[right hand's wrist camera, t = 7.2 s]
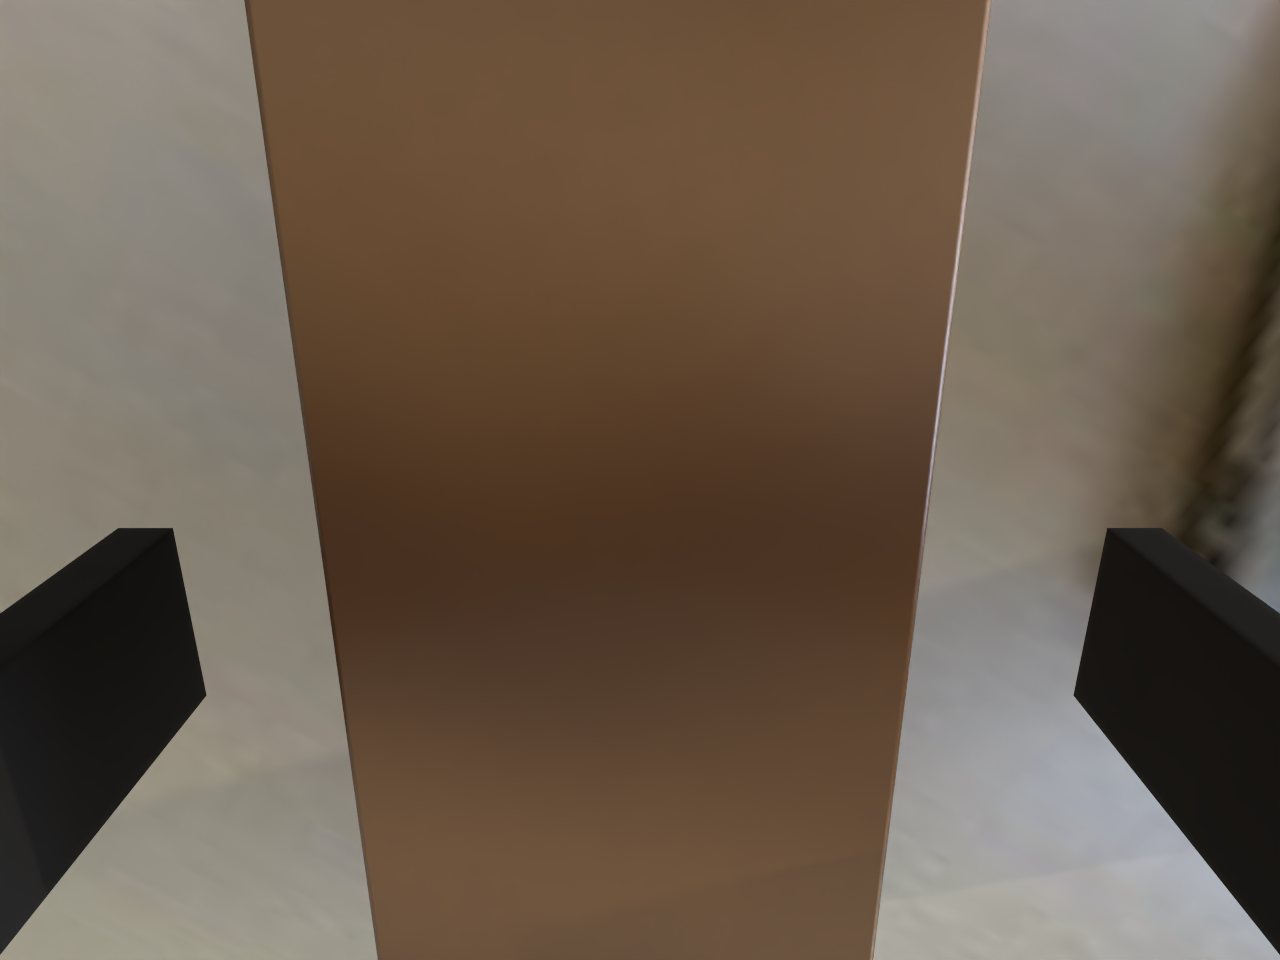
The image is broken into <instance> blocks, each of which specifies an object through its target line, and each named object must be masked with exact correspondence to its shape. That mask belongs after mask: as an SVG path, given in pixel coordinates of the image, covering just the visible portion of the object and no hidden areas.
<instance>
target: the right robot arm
mask: <svg viewBox="0 0 1280 960" xmlns="http://www.w3.org/2000/svg"><path fill="white" fill-rule="evenodd" d="M205 697H206V691H205V686H204V681H203V676H202V671H201V666H200V661H199V656H198V651H197V646H196V641H195V636H194V631H193V626H192V621H191V616H190V611H189V606H188V602H187V597H186V592H185V587H184V582H183V577H182V572H181V567H180V562H179V557H178V552H177V547H176V542H175V537H174V532H173V528H118V529H116V530H115V531H114V532H112V533H111V534H109V535H108V536H107V537H105V538H104V539H103V540H101V541H100V542H98V543H97V544H96V545H94V546H93V547H92V548H90V549H89V550H87V551H86V552H85V553H83V554H82V555H80V556H79V557H78V558H76V559H75V560H74V561H72V562H71V563H69V564H68V565H67V566H65V567H64V568H63V569H61V570H60V571H58V572H57V573H56V574H54V575H53V576H51V577H50V578H49V579H47V580H46V581H45V582H43V583H42V584H40V585H39V586H38V587H36V588H35V589H34V590H32V591H31V592H29V593H28V594H27V595H25V596H24V597H22V598H21V599H20V600H18V601H17V602H16V603H14V604H13V605H11V606H10V607H9V608H7V609H6V610H5V611H3V612H2V613H0V954H1V953H2V952H3V950H4V949H5V948H6V947H7V945H8V944H9V943H10V942H11V940H12V939H13V938H14V937H15V935H16V934H17V933H18V932H19V930H20V929H21V928H22V927H23V925H24V924H25V923H26V922H27V920H28V919H29V918H30V917H31V915H32V914H33V913H34V912H35V910H36V909H37V908H38V906H39V905H40V904H41V903H42V901H43V900H44V899H45V898H46V896H47V895H48V894H49V893H50V891H51V890H52V889H53V888H54V886H55V885H56V884H57V883H58V881H59V880H60V879H61V878H62V876H63V875H64V874H65V873H66V871H67V870H68V869H69V868H70V866H71V865H72V864H73V862H74V861H75V860H76V859H77V857H78V856H79V855H80V854H81V852H82V851H83V850H84V849H85V847H86V846H87V845H88V844H89V842H90V841H91V840H92V839H93V837H94V836H95V835H96V834H97V832H98V831H99V830H100V829H101V827H102V826H103V825H104V824H105V822H106V821H107V820H108V818H109V817H110V816H111V815H112V813H113V812H114V811H115V810H116V808H117V807H118V806H119V805H120V803H121V802H122V801H123V800H124V798H125V797H126V796H127V795H128V793H129V792H130V791H131V790H132V788H133V787H134V786H135V785H136V783H137V782H138V781H139V780H140V778H141V777H142V776H143V774H144V773H145V772H146V771H147V769H148V768H149V767H150V766H151V764H152V763H153V762H154V761H155V759H156V758H157V757H158V756H159V754H160V753H161V752H162V751H163V749H164V748H165V747H166V746H167V744H168V743H169V742H170V741H171V739H172V738H173V737H174V735H175V734H176V733H177V732H178V730H179V729H180V728H181V727H182V725H183V724H184V723H185V722H186V720H187V719H188V718H189V717H190V715H191V714H192V713H193V712H194V710H195V709H196V708H197V707H198V705H199V704H200V703H201V702H202V700H203V699H204V698H205ZM1074 697H1075V698H1076V699H1077V700H1078V702H1079V703H1080V704H1081V705H1082V707H1083V708H1084V709H1085V710H1086V712H1087V713H1088V714H1089V715H1090V717H1091V718H1092V719H1093V720H1094V722H1095V723H1096V724H1097V725H1098V727H1099V728H1100V729H1101V730H1102V732H1103V733H1104V734H1105V735H1106V737H1107V738H1108V739H1109V741H1110V742H1111V743H1112V744H1113V746H1114V747H1115V748H1116V749H1117V751H1118V752H1119V753H1120V754H1121V756H1122V757H1123V758H1124V759H1125V761H1126V762H1127V763H1128V764H1129V766H1130V767H1131V768H1132V769H1133V771H1134V772H1135V773H1136V774H1137V776H1138V777H1139V778H1140V779H1141V781H1142V782H1143V783H1144V785H1145V786H1146V787H1147V788H1148V790H1149V791H1150V792H1151V793H1152V795H1153V796H1154V797H1155V798H1156V800H1157V801H1158V802H1159V803H1160V805H1161V806H1162V807H1163V808H1164V810H1165V811H1166V812H1167V813H1168V815H1169V816H1170V817H1171V818H1172V820H1173V821H1174V822H1175V824H1176V825H1177V826H1178V827H1179V829H1180V830H1181V831H1182V832H1183V834H1184V835H1185V836H1186V837H1187V839H1188V840H1189V841H1190V842H1191V844H1192V845H1193V846H1194V847H1195V849H1196V850H1197V851H1198V852H1199V854H1200V855H1201V856H1202V857H1203V859H1204V860H1205V861H1206V862H1207V864H1208V865H1209V866H1210V868H1211V869H1212V870H1213V871H1214V873H1215V874H1216V875H1217V876H1218V878H1219V879H1220V880H1221V881H1222V883H1223V884H1224V885H1225V886H1226V888H1227V889H1228V890H1229V891H1230V893H1231V894H1232V895H1233V896H1234V898H1235V899H1236V900H1237V901H1238V903H1239V904H1240V905H1241V906H1242V908H1243V909H1244V910H1245V912H1246V913H1247V914H1248V915H1249V917H1250V918H1251V919H1252V920H1253V922H1254V923H1255V924H1256V925H1257V927H1258V928H1259V929H1260V930H1261V932H1262V933H1263V934H1264V935H1265V937H1266V938H1267V939H1268V940H1269V942H1270V943H1271V944H1272V945H1273V947H1274V948H1275V949H1276V950H1277V952H1278V953H1279V954H1280V613H1278V612H1277V611H1275V610H1274V609H1273V608H1271V607H1270V606H1269V605H1267V604H1266V603H1264V602H1263V601H1262V600H1260V599H1259V598H1258V597H1256V596H1255V595H1253V594H1252V593H1251V592H1249V591H1248V590H1246V589H1245V588H1244V587H1242V586H1241V585H1240V584H1238V583H1237V582H1235V581H1234V580H1233V579H1231V578H1230V577H1229V576H1227V575H1226V574H1224V573H1223V572H1222V571H1220V570H1219V569H1217V568H1216V567H1215V566H1213V565H1212V564H1211V563H1209V562H1208V561H1206V560H1205V559H1204V558H1202V557H1201V556H1200V555H1198V554H1197V553H1195V552H1194V551H1193V550H1191V549H1190V548H1188V547H1187V546H1186V545H1184V544H1183V543H1182V542H1180V541H1179V540H1177V539H1176V538H1175V537H1173V536H1172V535H1171V534H1169V533H1168V532H1166V531H1165V530H1164V529H1162V528H1107V532H1106V537H1105V542H1104V547H1103V552H1102V557H1101V562H1100V567H1099V572H1098V577H1097V582H1096V587H1095V592H1094V597H1093V602H1092V606H1091V611H1090V616H1089V621H1088V626H1087V631H1086V636H1085V641H1084V646H1083V651H1082V656H1081V661H1080V666H1079V671H1078V676H1077V681H1076V686H1075V691H1074Z"/></svg>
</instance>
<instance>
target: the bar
mask: <svg viewBox="0 0 1280 960" xmlns="http://www.w3.org/2000/svg"><path fill="white" fill-rule="evenodd" d="M244 1H245V8H246V15H247V22H248V29H249V36H250V44H251V51H252V58H253V65H254V72H255V80H256V87H257V94H258V101H259V108H260V116H261V123H262V130H263V137H264V144H265V151H266V159H267V166H268V173H269V180H270V187H271V195H272V202H273V209H274V216H275V223H276V230H277V238H278V245H279V252H280V259H281V266H282V274H283V281H284V288H285V295H286V302H287V310H288V317H289V324H290V331H291V338H292V345H293V353H294V360H295V367H296V374H297V381H298V389H299V396H300V403H301V410H302V417H303V425H304V432H305V439H306V446H307V453H308V460H309V468H310V475H311V482H312V489H313V496H314V504H315V511H316V518H317V525H318V532H319V539H320V547H321V554H322V561H323V568H324V575H325V583H326V590H327V597H328V604H329V611H330V619H331V626H332V633H333V640H334V647H335V654H336V662H337V669H338V676H339V683H340V690H341V698H342V705H343V712H344V719H345V726H346V733H347V741H348V748H349V755H350V762H351V769H352V777H353V784H354V791H355V798H356V805H357V813H358V820H359V827H360V834H361V841H362V848H363V856H364V863H365V870H366V877H367V884H368V892H369V899H370V906H371V913H372V920H373V928H374V935H375V942H376V949H377V956H378V960H873V955H874V947H875V939H876V931H877V923H878V915H879V907H880V898H881V890H882V882H883V874H884V866H885V858H886V850H887V842H888V834H889V826H890V818H891V809H892V801H893V793H894V785H895V777H896V769H897V761H898V753H899V745H900V737H901V729H902V720H903V712H904V704H905V696H906V688H907V680H908V672H909V664H910V656H911V648H912V640H913V631H914V623H915V615H916V607H917V599H918V591H919V583H920V575H921V567H922V559H923V551H924V542H925V534H926V526H927V518H928V510H929V502H930V494H931V486H932V478H933V470H934V462H935V454H936V445H937V437H938V429H939V421H940V413H941V405H942V397H943V389H944V381H945V373H946V365H947V356H948V348H949V340H950V332H951V324H952V316H953V308H954V300H955V292H956V284H957V276H958V267H959V259H960V251H961V243H962V235H963V227H964V219H965V211H966V203H967V195H968V187H969V178H970V170H971V162H972V154H973V146H974V138H975V130H976V122H977V114H978V106H979V98H980V89H981V81H982V73H983V65H984V57H985V49H986V41H987V33H988V25H989V17H990V9H991V0H244Z"/></svg>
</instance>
